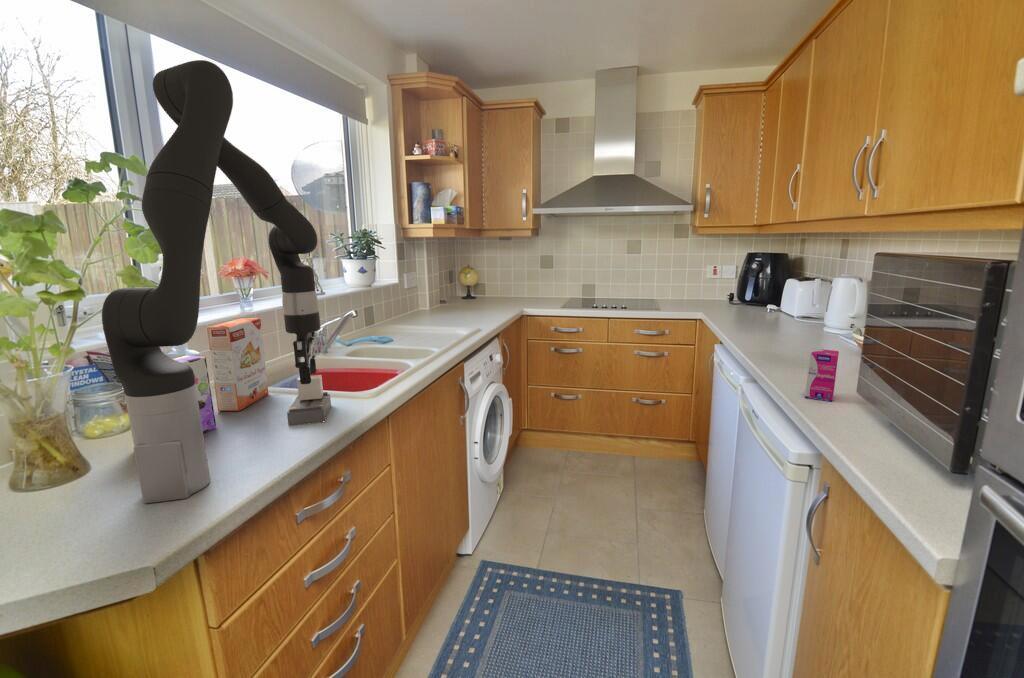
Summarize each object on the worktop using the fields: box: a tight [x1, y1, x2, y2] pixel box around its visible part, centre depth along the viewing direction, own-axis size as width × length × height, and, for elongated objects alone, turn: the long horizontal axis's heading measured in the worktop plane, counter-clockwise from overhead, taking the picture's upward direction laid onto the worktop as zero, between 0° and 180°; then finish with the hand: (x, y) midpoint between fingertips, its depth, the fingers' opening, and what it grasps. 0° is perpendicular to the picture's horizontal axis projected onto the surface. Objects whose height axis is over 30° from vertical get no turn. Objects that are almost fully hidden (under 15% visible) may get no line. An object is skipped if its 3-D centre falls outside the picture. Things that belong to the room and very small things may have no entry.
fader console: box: [286, 391, 332, 427], centre depth 114 cm, size 12×8×4 cm, turn 13°
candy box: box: [172, 355, 217, 434], centre depth 100 cm, size 14×6×16 cm, turn 161°
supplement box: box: [804, 347, 840, 403], centre depth 118 cm, size 6×6×12 cm
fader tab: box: [296, 374, 324, 400], centre depth 116 cm, size 3×5×5 cm, turn 103°
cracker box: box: [206, 317, 269, 412], centre depth 122 cm, size 14×6×21 cm, turn 179°
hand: (309, 378), depth 116 cm, fingers open, 8 cm apart
